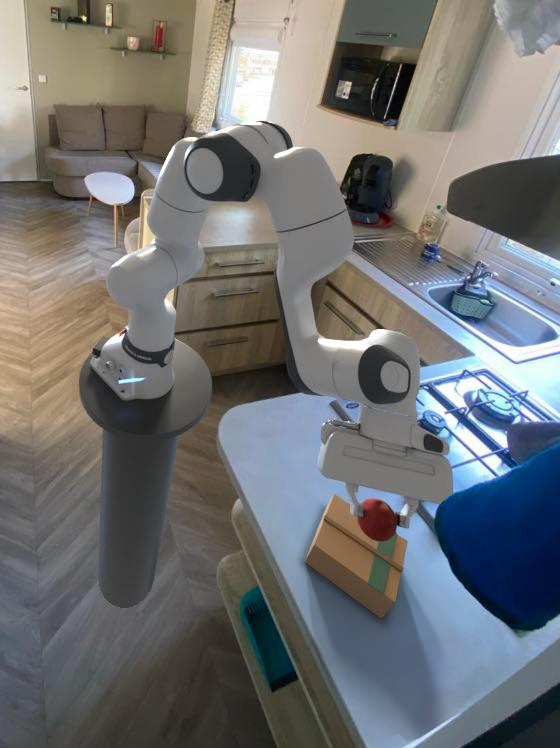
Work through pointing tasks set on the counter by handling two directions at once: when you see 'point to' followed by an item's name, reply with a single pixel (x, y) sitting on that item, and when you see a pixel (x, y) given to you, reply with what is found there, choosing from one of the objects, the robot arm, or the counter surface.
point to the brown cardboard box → (357, 558)
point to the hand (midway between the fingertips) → (379, 521)
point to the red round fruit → (377, 520)
